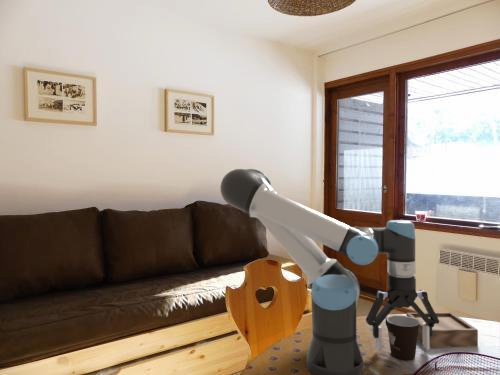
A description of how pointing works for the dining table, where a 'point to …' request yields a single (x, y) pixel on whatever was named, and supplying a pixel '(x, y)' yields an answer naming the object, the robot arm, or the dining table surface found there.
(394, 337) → the coffee mug
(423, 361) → the dining table surface
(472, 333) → the wooden tray
